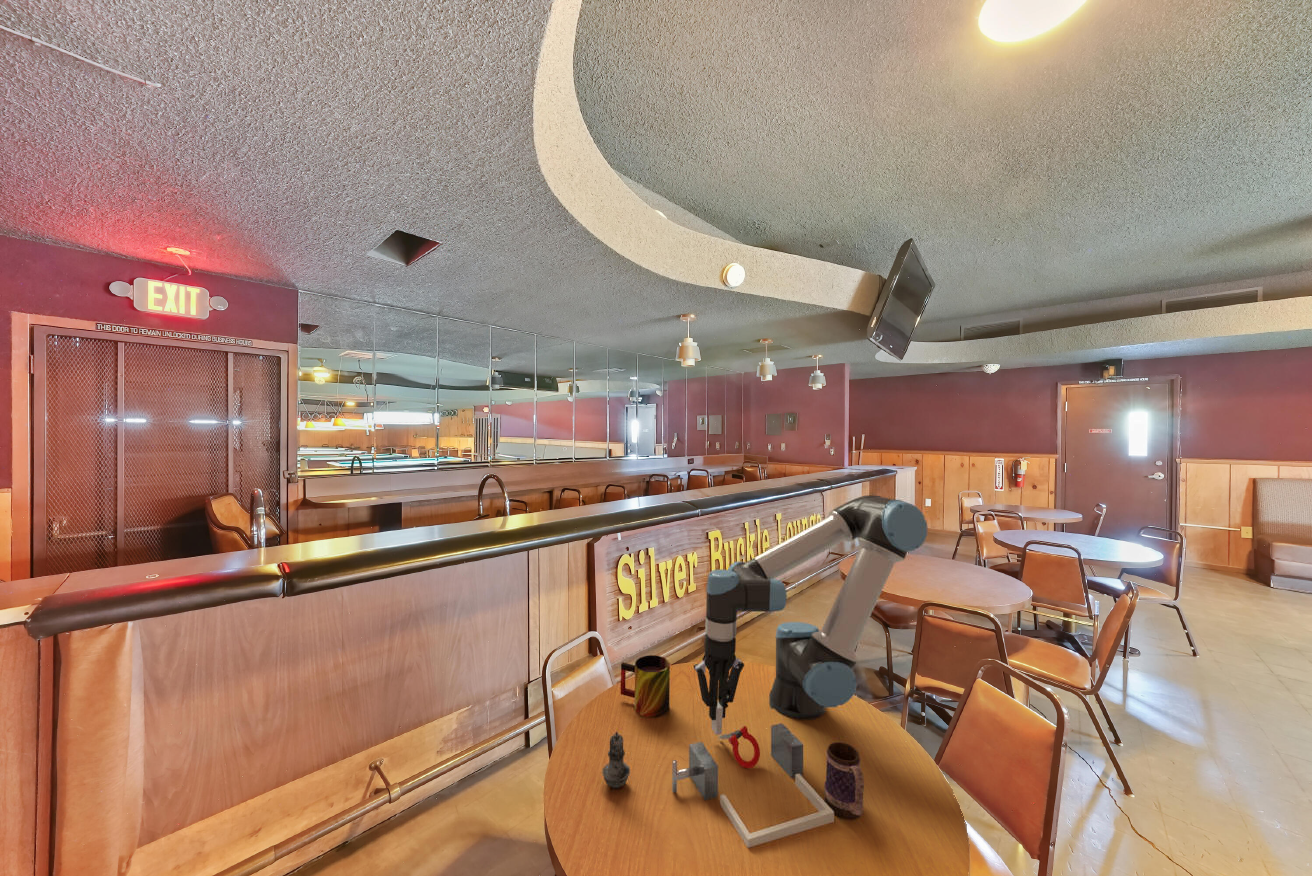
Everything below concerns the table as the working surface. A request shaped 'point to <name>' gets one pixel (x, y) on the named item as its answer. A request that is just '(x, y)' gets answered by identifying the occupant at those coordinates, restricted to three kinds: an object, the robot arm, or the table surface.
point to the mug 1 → (649, 685)
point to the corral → (788, 827)
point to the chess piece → (616, 763)
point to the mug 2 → (844, 781)
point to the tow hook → (733, 740)
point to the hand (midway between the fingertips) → (716, 731)
